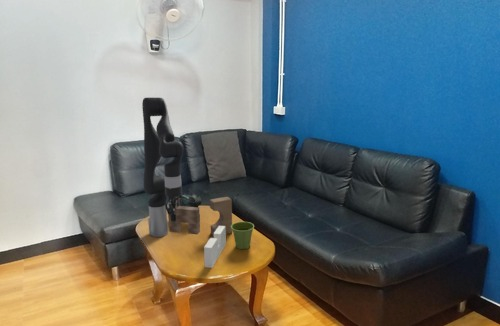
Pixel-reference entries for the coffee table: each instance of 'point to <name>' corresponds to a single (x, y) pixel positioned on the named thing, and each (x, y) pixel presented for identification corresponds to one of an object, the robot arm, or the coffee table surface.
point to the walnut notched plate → (185, 219)
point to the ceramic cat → (191, 200)
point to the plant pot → (242, 234)
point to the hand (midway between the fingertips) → (175, 219)
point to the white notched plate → (215, 246)
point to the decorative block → (222, 213)
